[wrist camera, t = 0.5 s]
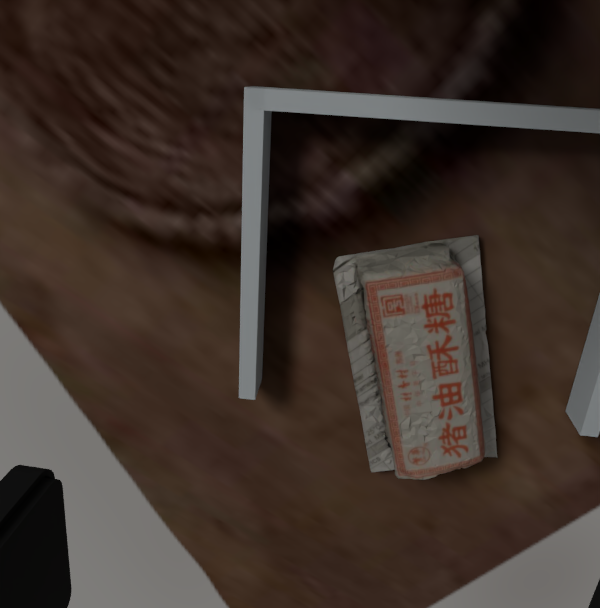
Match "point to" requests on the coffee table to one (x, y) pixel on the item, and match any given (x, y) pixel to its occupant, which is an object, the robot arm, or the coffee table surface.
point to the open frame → (263, 100)
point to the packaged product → (419, 355)
